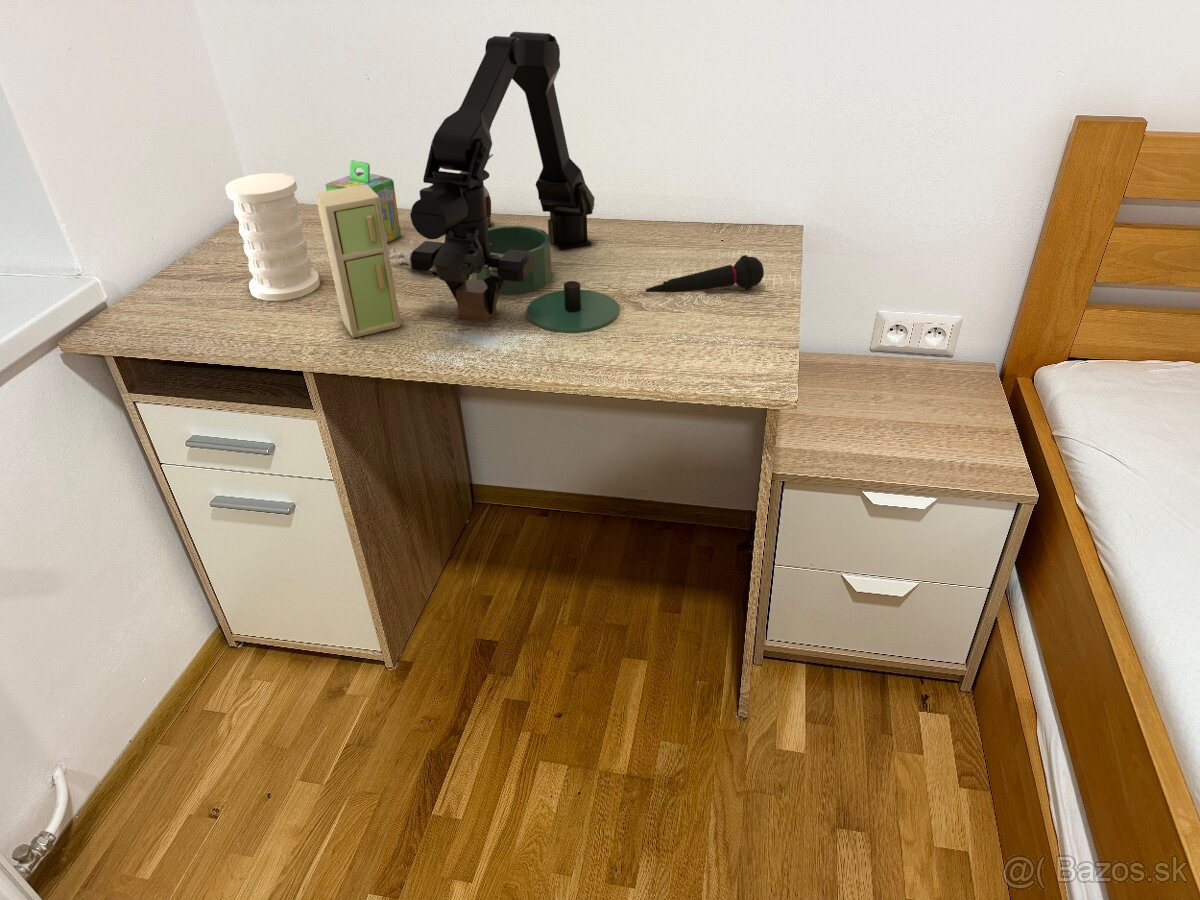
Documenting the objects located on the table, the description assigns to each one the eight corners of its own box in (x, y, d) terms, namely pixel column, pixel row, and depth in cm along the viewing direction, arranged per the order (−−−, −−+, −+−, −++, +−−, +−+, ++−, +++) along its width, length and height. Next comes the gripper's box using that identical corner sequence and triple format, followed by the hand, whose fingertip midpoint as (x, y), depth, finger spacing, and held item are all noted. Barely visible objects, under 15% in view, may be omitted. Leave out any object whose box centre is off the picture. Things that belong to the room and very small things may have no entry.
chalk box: (334, 243, 166) (319, 166, 157) (368, 228, 172) (355, 153, 164) (369, 252, 162) (355, 173, 153) (403, 237, 168) (391, 160, 160)
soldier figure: (415, 262, 160) (463, 252, 154) (410, 286, 159) (459, 277, 153) (384, 242, 154) (433, 232, 148) (379, 267, 153) (428, 258, 146)
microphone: (650, 314, 145) (766, 293, 145) (648, 289, 141) (768, 267, 141) (644, 292, 148) (757, 271, 149) (642, 267, 144) (759, 245, 144)
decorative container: (278, 270, 156) (254, 169, 146) (333, 277, 153) (312, 175, 142) (236, 295, 147) (207, 191, 137) (293, 304, 144) (268, 198, 133)
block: (470, 309, 141) (467, 278, 138) (497, 312, 140) (494, 281, 137) (459, 321, 137) (455, 290, 134) (485, 325, 136) (482, 293, 133)
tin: (534, 260, 158) (532, 220, 153) (564, 288, 147) (562, 246, 143) (463, 274, 153) (458, 233, 149) (488, 303, 143) (484, 261, 138)
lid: (595, 289, 147) (594, 259, 144) (635, 323, 136) (635, 292, 133) (513, 306, 142) (511, 276, 139) (548, 344, 131) (546, 312, 128)
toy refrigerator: (352, 341, 133) (325, 207, 121) (341, 322, 138) (314, 192, 126) (403, 329, 136) (381, 197, 124) (390, 311, 141) (368, 183, 129)
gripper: (385, 229, 125) (401, 326, 134) (505, 241, 120) (513, 341, 129) (420, 204, 134) (432, 297, 143) (533, 214, 129) (539, 309, 138)
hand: (477, 311), depth 138 cm, fingers closed on block, 4 cm apart
